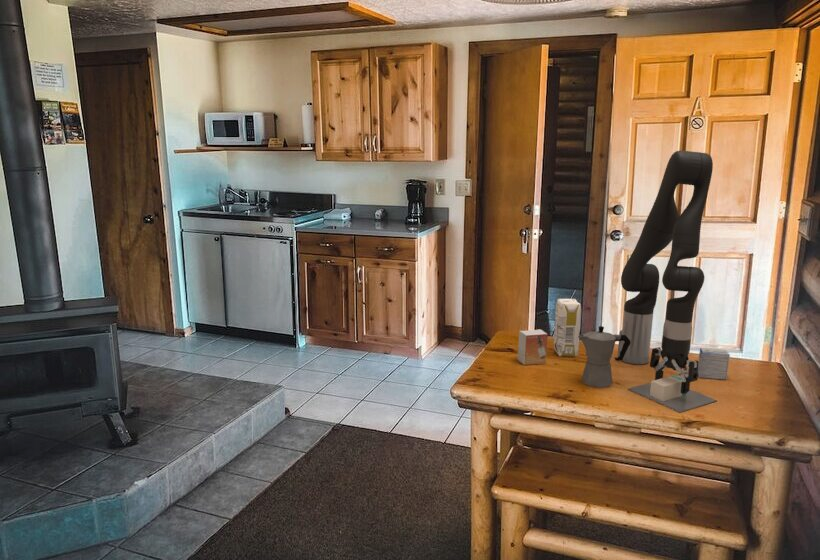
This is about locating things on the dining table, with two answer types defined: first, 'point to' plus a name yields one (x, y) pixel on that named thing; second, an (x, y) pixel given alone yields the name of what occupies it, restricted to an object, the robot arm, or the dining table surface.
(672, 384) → the block
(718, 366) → the medicine box
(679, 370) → the robot arm
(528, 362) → the small box
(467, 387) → the dining table surface
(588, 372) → the coffeepot
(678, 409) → the board
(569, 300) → the juice carton
